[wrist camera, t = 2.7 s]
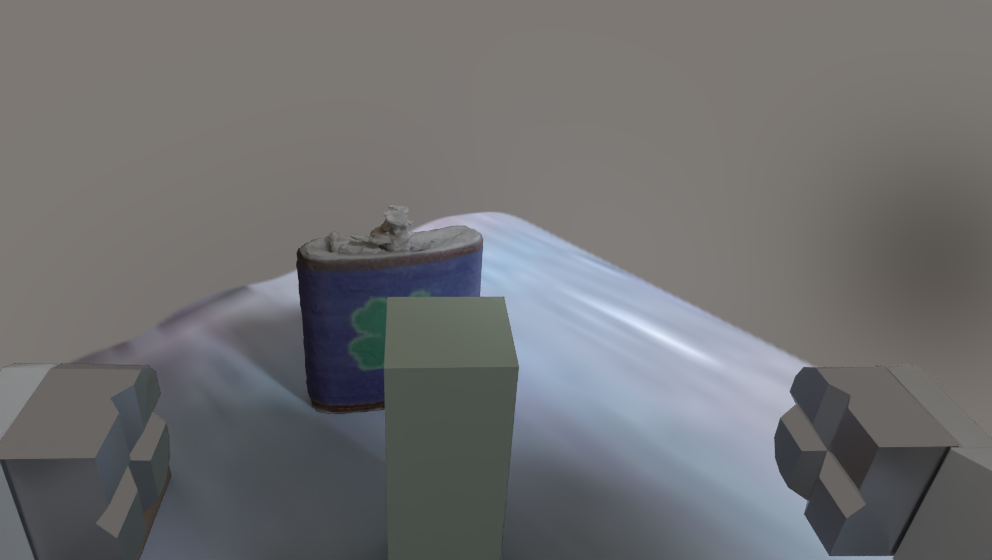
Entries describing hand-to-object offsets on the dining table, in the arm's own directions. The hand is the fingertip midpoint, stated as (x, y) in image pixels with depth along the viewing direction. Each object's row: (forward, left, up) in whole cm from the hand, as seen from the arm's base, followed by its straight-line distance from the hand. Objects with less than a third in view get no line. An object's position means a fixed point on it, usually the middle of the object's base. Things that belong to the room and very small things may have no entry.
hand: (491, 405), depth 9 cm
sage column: (0, -12, -19) cm, 23 cm away
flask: (+2, -24, -19) cm, 31 cm away
